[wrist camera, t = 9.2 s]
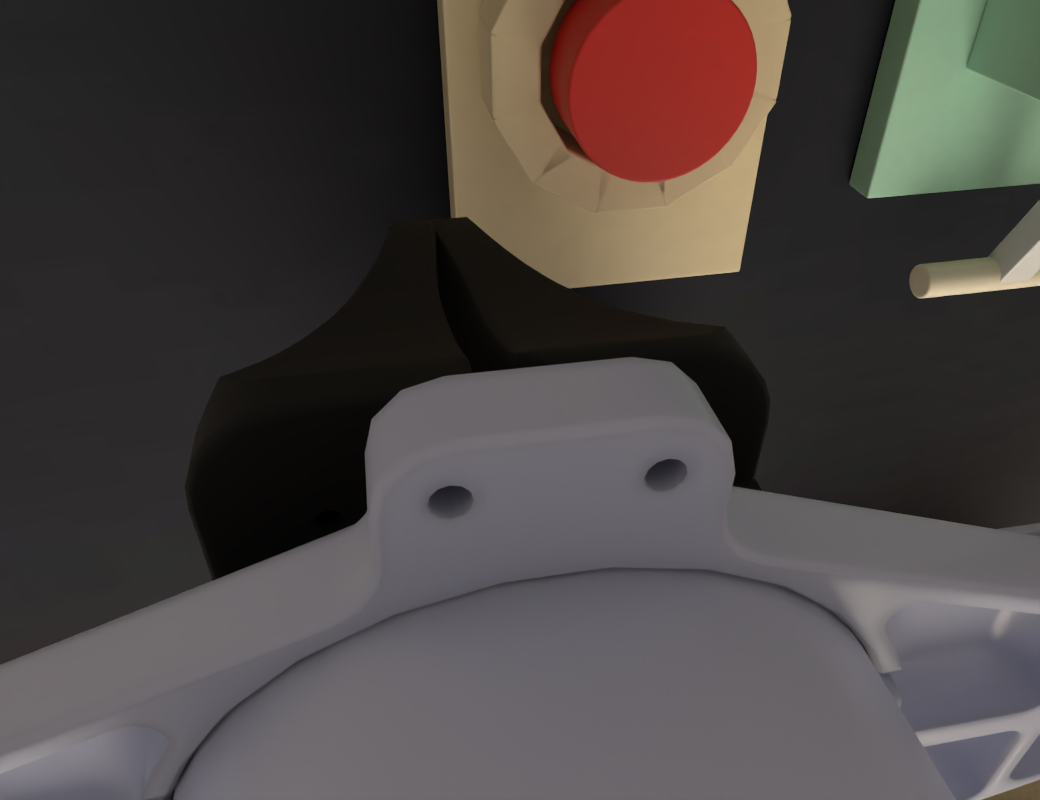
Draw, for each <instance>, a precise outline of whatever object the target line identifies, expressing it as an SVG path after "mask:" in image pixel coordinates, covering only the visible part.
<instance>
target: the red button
mask: <svg viewBox="0 0 1040 800" xmlns="http://www.w3.org/2000/svg"><path fill="white" fill-rule="evenodd" d="M756 75H757V54H756V47H755V42H754V38H753V34H752V31H751V29H750V26H749V24H748V22H747V20H746V18H745V17H744V15H743V13H742V12H741V10H740V9H739V8H738V7H737V5H736V4H735V3H734V2H733V1H732V0H576V1H575V2H574V3H573V5H572V6H571V7H570V8H569V10H568V12H567V13H566V15H565V17H564V18H563V20H562V22H561V24H560V26H559V29H558V31H557V33H556V36H555V39H554V43H553V46H552V51H551V56H550V67H549V76H550V87H551V93H552V97H553V100H554V103H555V106H556V108H557V110H558V113H559V115H560V117H561V118H562V120H563V121H564V123H565V124H566V126H567V127H568V129H569V130H570V132H571V133H572V135H573V136H574V137H575V139H576V140H577V142H578V143H579V145H580V146H581V148H582V149H583V151H584V152H585V153H586V154H587V156H588V157H589V158H590V159H591V160H592V161H593V162H594V163H595V164H596V165H598V166H599V167H600V168H601V169H603V170H605V171H606V172H608V173H610V174H612V175H614V176H616V177H619V178H621V179H625V180H629V181H634V182H660V181H666V180H670V179H674V178H677V177H680V176H682V175H685V174H687V173H689V172H691V171H693V170H695V169H697V168H699V167H700V166H702V165H703V164H704V163H706V162H707V161H709V160H710V159H711V158H712V157H714V156H715V155H716V154H717V153H718V152H719V151H720V150H721V149H722V148H723V147H724V146H725V145H726V144H727V143H728V142H729V140H730V139H731V138H732V136H733V135H734V134H735V132H736V131H737V129H738V128H739V126H740V124H741V123H742V121H743V119H744V117H745V115H746V113H747V110H748V108H749V105H750V102H751V100H752V97H753V93H754V88H755V84H756Z"/></svg>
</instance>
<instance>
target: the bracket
mask: <svg viewBox="0 0 1040 800" xmlns="http://www.w3.org/2000/svg"><path fill="white" fill-rule="evenodd" d="M1038 183H1040V0H895V4H894V8H893V12H892V16H891V20H890V24H889V28H888V32H887V36H886V40H885V44H884V48H883V51H882V55H881V59H880V63H879V67H878V71H877V75H876V79H875V83H874V87H873V91H872V95H871V99H870V103H869V107H868V111H867V115H866V119H865V123H864V127H863V131H862V135H861V139H860V143H859V147H858V150H857V154H856V158H855V162H854V166H853V170H852V174H851V178H850V182H849V184H850V185H851V186H852V187H853V188H855V189H856V190H857V191H858V192H860V193H861V194H862V195H864V196H865V197H866V198H878V197H889V196H901V195H912V194H924V193H935V192H947V191H958V190H969V189H981V188H992V187H1004V186H1015V185H1027V184H1038Z"/></svg>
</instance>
